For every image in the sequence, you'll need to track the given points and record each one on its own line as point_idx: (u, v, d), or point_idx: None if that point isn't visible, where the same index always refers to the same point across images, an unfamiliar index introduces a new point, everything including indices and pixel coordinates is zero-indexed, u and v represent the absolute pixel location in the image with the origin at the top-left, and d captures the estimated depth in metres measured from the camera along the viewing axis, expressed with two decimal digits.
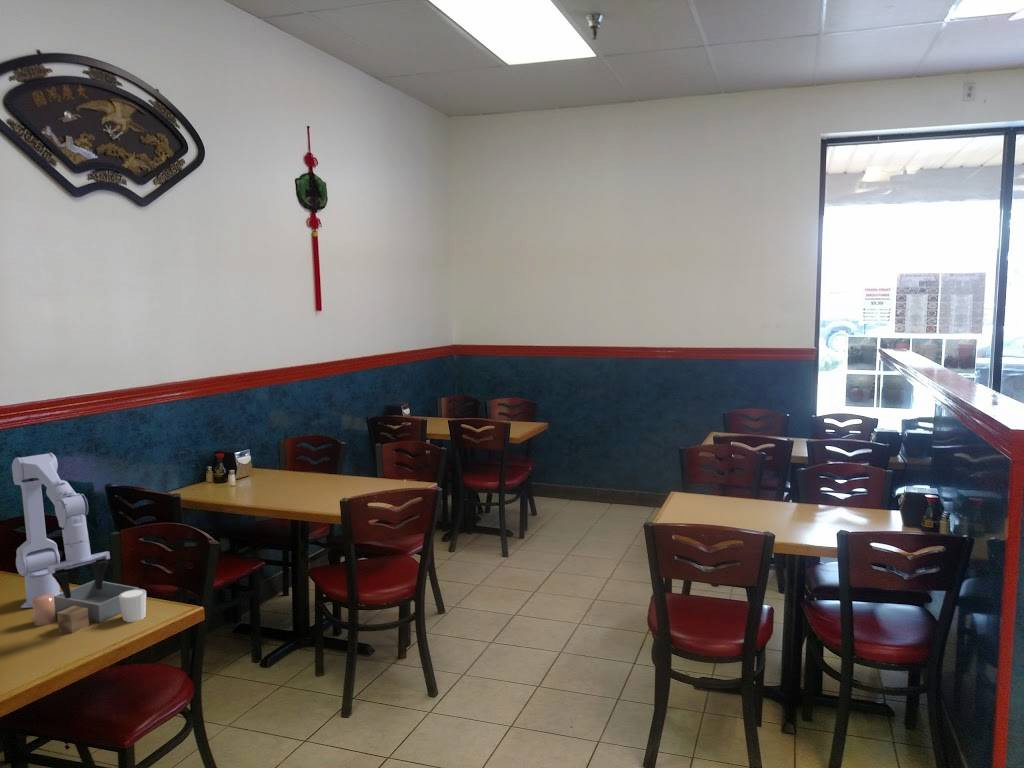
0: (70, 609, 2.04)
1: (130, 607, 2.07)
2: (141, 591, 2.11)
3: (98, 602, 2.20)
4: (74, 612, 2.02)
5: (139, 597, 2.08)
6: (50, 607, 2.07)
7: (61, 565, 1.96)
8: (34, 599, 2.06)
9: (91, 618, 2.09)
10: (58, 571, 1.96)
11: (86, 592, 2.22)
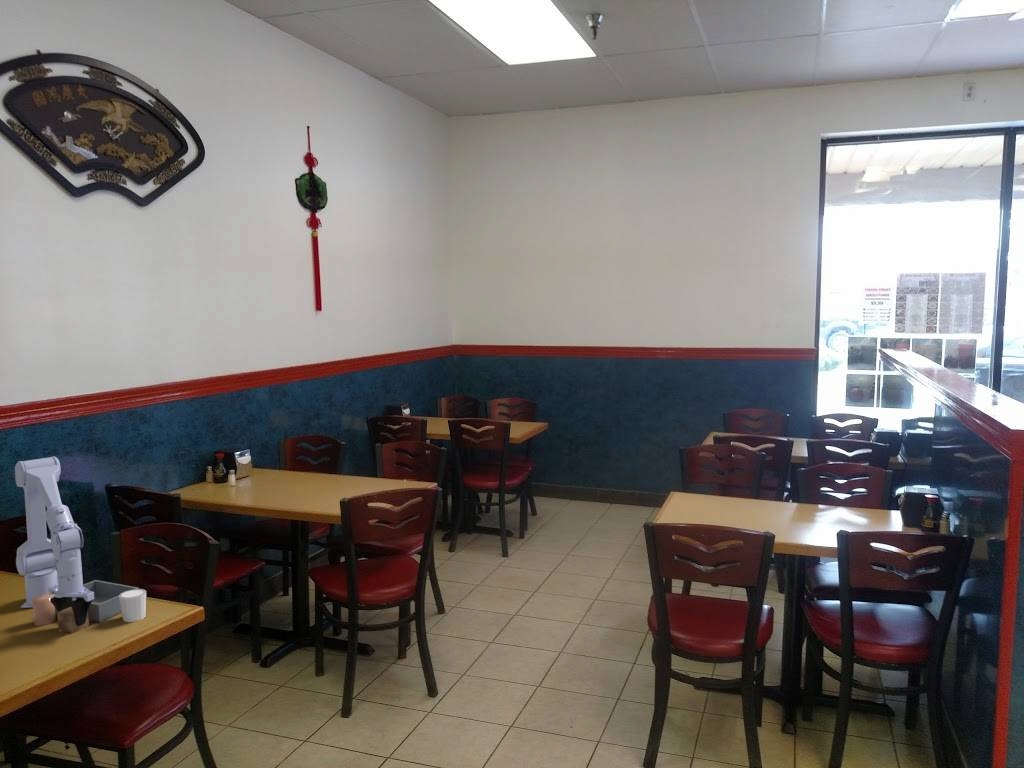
0: (70, 609, 2.04)
1: (130, 607, 2.07)
2: (141, 591, 2.11)
3: (98, 602, 2.20)
4: None
5: (139, 597, 2.08)
6: (50, 607, 2.07)
7: (53, 590, 2.03)
8: (34, 599, 2.06)
9: (91, 618, 2.09)
10: (54, 594, 2.05)
11: None
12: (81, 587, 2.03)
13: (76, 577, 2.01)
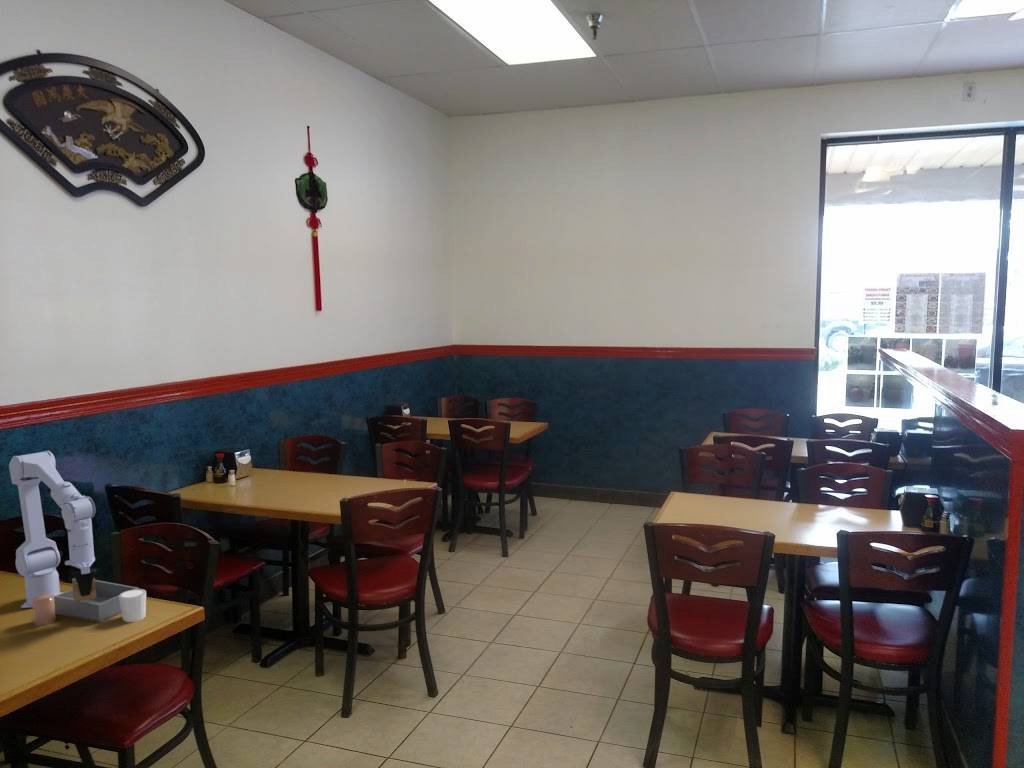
0: None
1: (130, 607, 2.07)
2: (141, 591, 2.11)
3: (98, 602, 2.20)
4: None
5: (139, 597, 2.08)
6: (50, 607, 2.07)
7: None
8: (34, 599, 2.06)
9: (91, 618, 2.09)
10: None
11: None
12: (88, 559, 2.05)
13: (81, 548, 2.03)
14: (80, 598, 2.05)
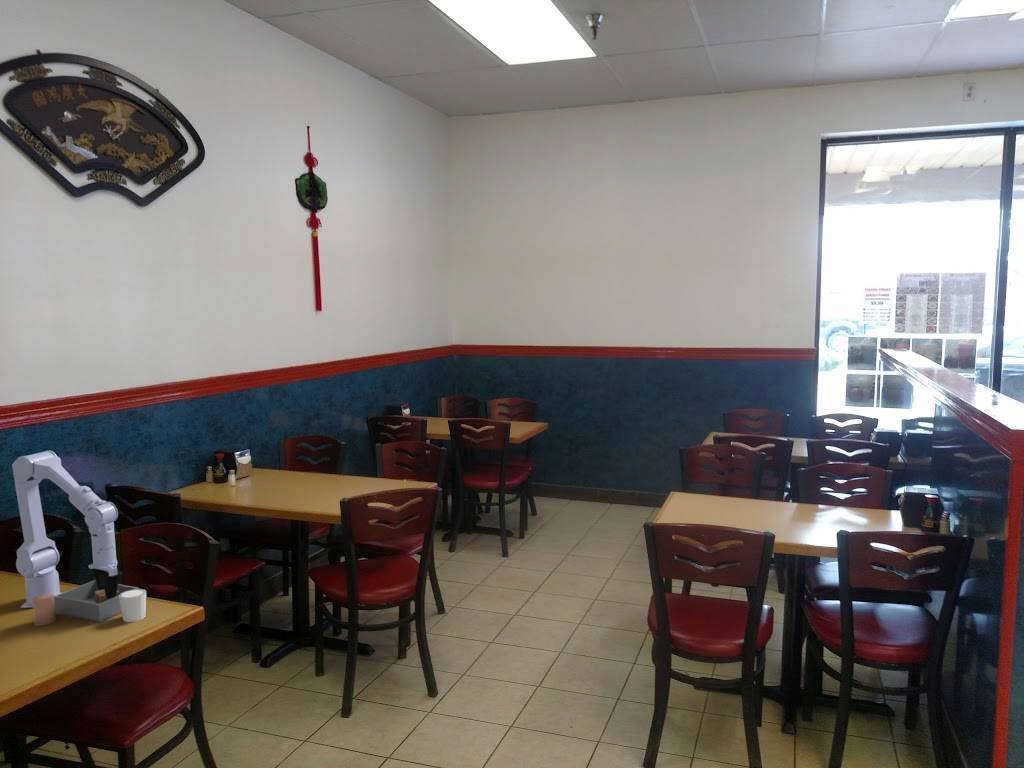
0: None
1: (130, 607, 2.07)
2: (141, 591, 2.11)
3: None
4: (105, 594, 2.13)
5: (139, 597, 2.08)
6: (50, 607, 2.07)
7: None
8: (34, 599, 2.06)
9: (91, 618, 2.09)
10: None
11: (86, 592, 2.22)
12: (112, 562, 2.13)
13: (105, 551, 2.11)
14: None
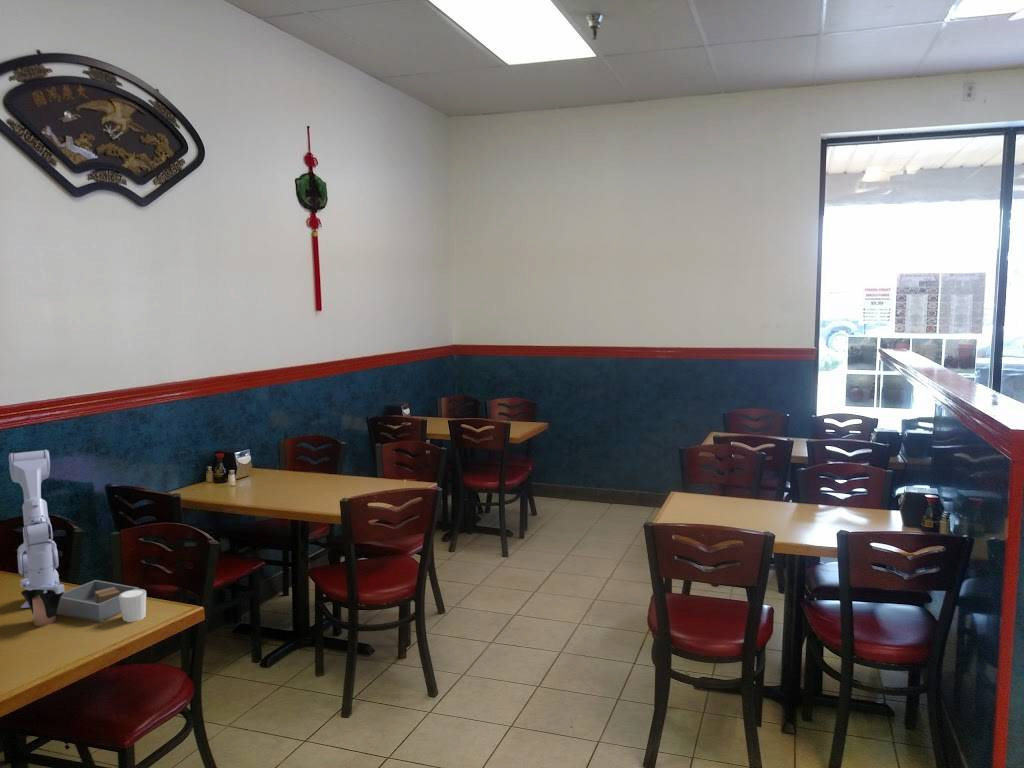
0: (106, 590, 2.16)
1: (130, 607, 2.07)
2: (141, 591, 2.11)
3: None
4: (105, 594, 2.13)
5: (139, 597, 2.08)
6: None
7: (24, 583, 2.08)
8: (34, 599, 2.06)
9: (91, 618, 2.09)
10: (25, 587, 2.09)
11: (86, 592, 2.22)
12: (52, 580, 2.07)
13: (47, 570, 2.05)
14: None
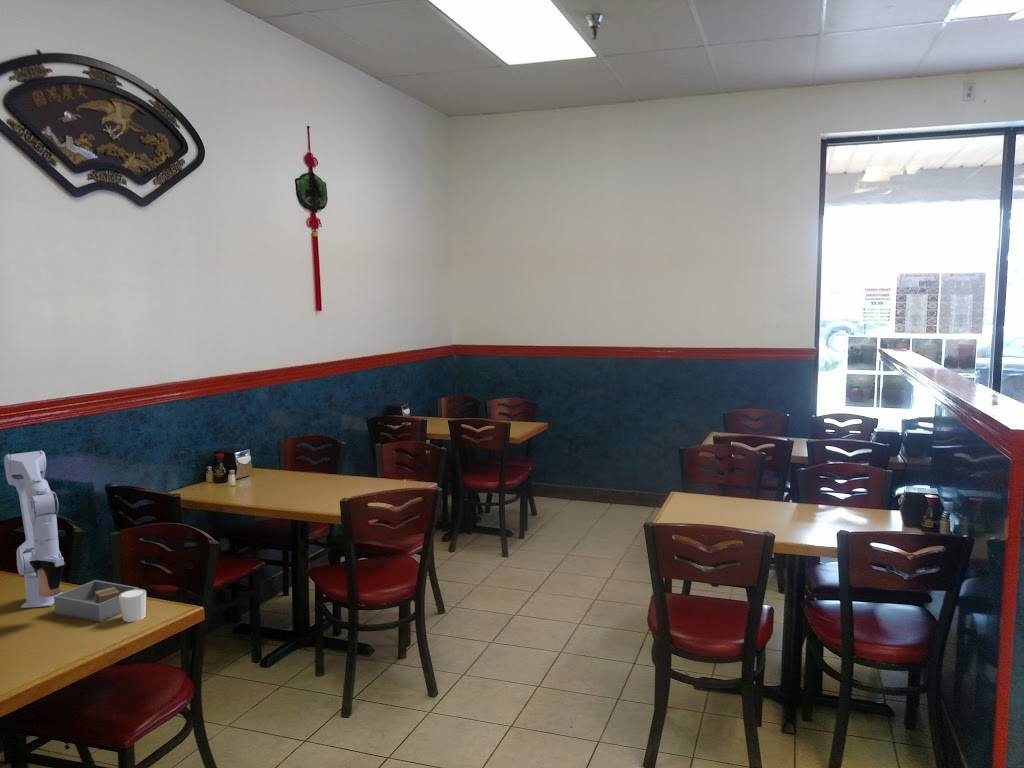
0: (106, 590, 2.16)
1: (130, 607, 2.07)
2: (141, 591, 2.11)
3: None
4: (105, 594, 2.13)
5: (139, 597, 2.08)
6: None
7: (33, 553, 2.09)
8: (39, 570, 2.07)
9: (91, 618, 2.09)
10: None
11: (86, 592, 2.22)
12: (56, 552, 2.07)
13: (49, 542, 2.06)
14: None
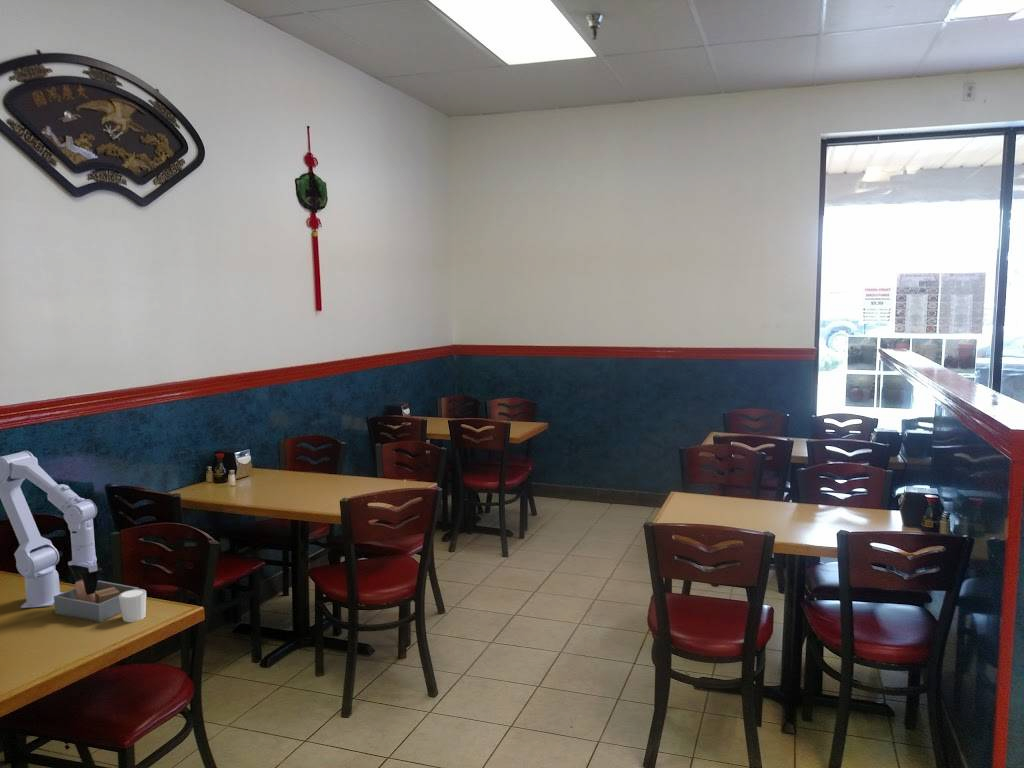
0: (106, 590, 2.16)
1: (130, 607, 2.07)
2: (141, 591, 2.11)
3: None
4: (105, 594, 2.13)
5: (139, 597, 2.08)
6: None
7: None
8: (77, 582, 2.16)
9: (91, 618, 2.09)
10: None
11: None
12: (91, 558, 2.16)
13: (85, 548, 2.14)
14: None
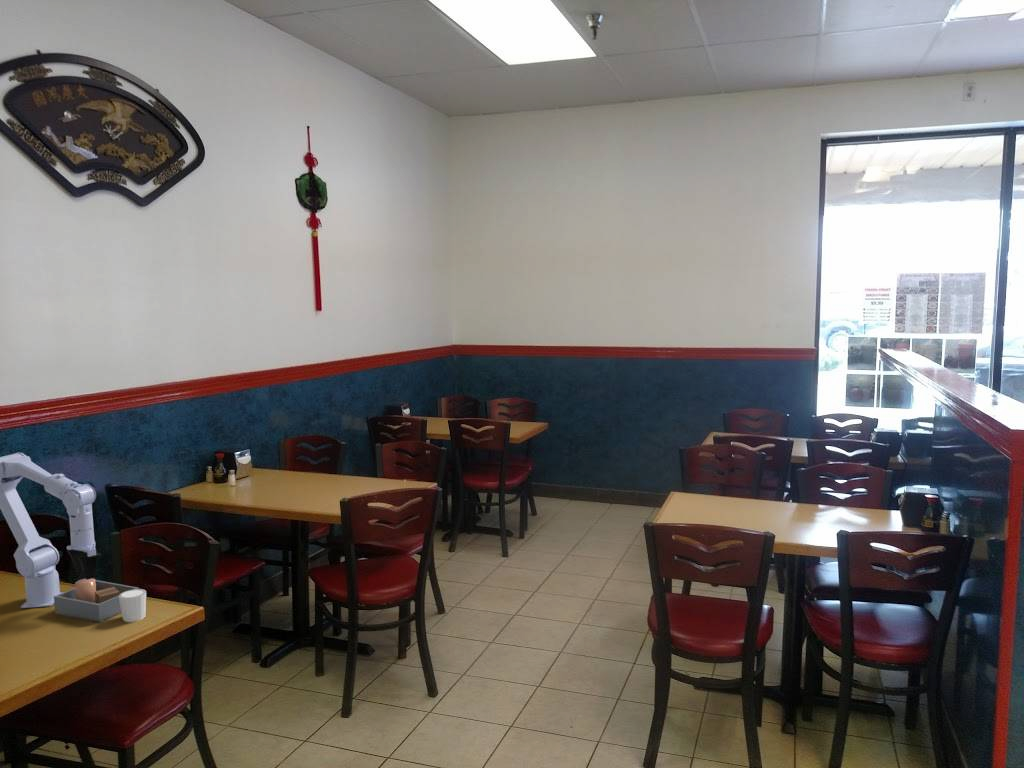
0: (106, 590, 2.16)
1: (130, 607, 2.07)
2: (141, 591, 2.11)
3: None
4: (105, 594, 2.13)
5: (139, 597, 2.08)
6: (89, 591, 2.16)
7: None
8: (77, 582, 2.16)
9: (91, 618, 2.09)
10: None
11: None
12: (90, 543, 2.15)
13: (84, 532, 2.14)
14: None
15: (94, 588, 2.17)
